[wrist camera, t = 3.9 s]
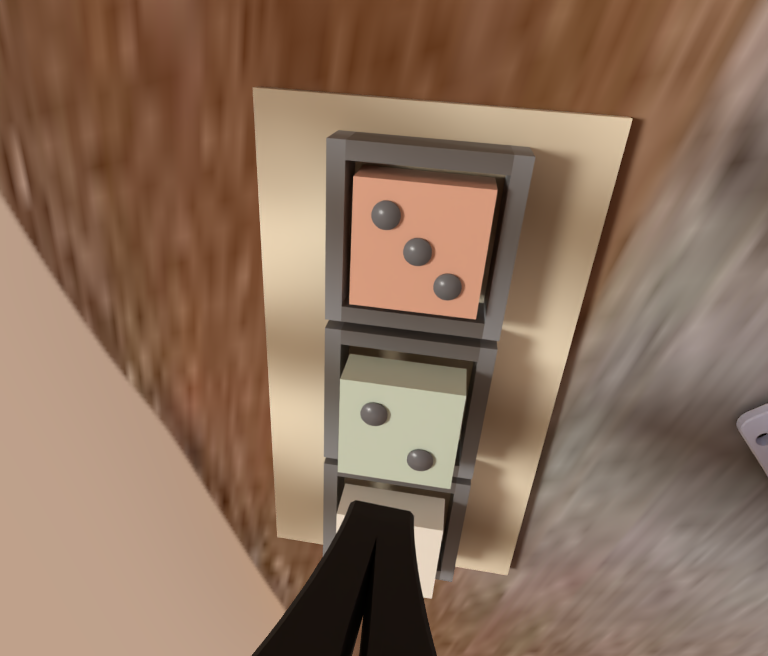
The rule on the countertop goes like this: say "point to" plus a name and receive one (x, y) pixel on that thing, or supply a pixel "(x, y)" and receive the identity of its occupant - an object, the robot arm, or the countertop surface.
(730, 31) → the countertop surface
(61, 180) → the countertop surface
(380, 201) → the key three
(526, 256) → the key board
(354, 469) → the key two
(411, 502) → the key one
